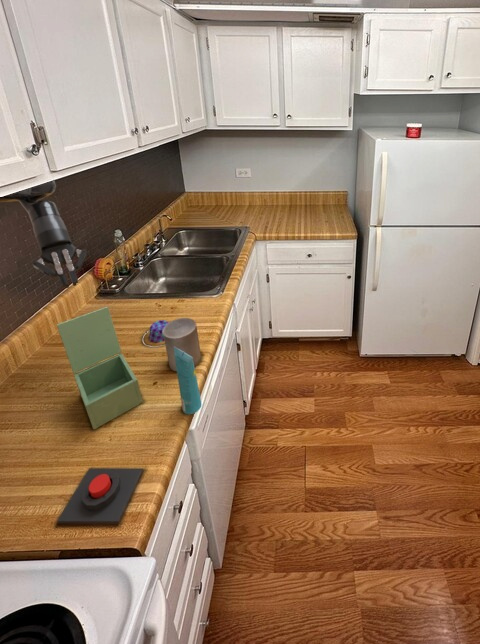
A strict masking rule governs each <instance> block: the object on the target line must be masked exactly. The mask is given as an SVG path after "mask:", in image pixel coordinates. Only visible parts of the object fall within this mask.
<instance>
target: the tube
mask: <svg viewBox="0 0 480 644" xmlns="http://www.w3.org/2000/svg"><path fill="white" fill-rule="evenodd" d="M174 354H175V362H176V369H177V371H176V375H177V381H178V382H177V383H178V387H179V396H180V402H181V408H182V412H183V414H185V415H194V414H196V413H197V412H198V411H199V410H200V409H201V408H202V398H201V394H200V389H199V384H198V378H197V373H196V367H194V363H193V357H191V356H190V355H188V354H186V353H185V352H183V351H181V350H180V349H177V348H176V347H174Z"/></svg>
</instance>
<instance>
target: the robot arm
mask: <svg viewBox="0 0 480 644" xmlns="http://www.w3.org/2000/svg"><path fill="white" fill-rule="evenodd" d="M56 190H57V182H56V181H55V180H54V181H51V182H47V183H45V184H42V185H39V186H36V187H32V188H29V189H27V190H23V191H19V192H17V193H13V194H10V195H8V196H4V197H0V203H11V202H13V203H14V202H19V203H20V204H21V206H22V207H23V208H24V210H25V211H26V213H28V216H29V219H30V222H31V225H32V230H33V234H34V237H35V239H36V242H37V244H38V248H39V250H40V258H39V259H37V260H34V261H33V262H32V266H33V268H34V269H36V270H37V271H39V272H41V273H42V274H44V275H46V276H47V277H49V278H52V279H53V278H58V280H59V282H60V284H61V287H62V288H65V289H68V288H70V285H69V283H68V279H67V277H66V274H65V273H64V271H63V268H62V266H63V265H65V266H66V268H67V270H68V274H69V278H70V281H71V283H72V286H73V287H75V286H77V284H78V283H79V279H78V275H77V272H78V271H81V270H82V268H83V265H84V262H85V260H86V258H87V249H85V248H83V249H77V247H76V246H74V244H73V242H72V239H71V237H70V234H69V231H68V228H67V226H66V224H65V222H64V220H63V219H62V216H61V214H60V211H59V208H58V206H57V204H56V203H55V202H53V201H51V200H43V199H45V198H47V197H50V196H52V195H53V194H54V193H55V192H56ZM76 254H77V258H78V259H77V261H76V263H75V265H74V264H73V260H74V258H75V257H76ZM45 263H47V264H49V265H51V266H53V267H54V268H55V270H53V269H52V268H49V267H48V266H47V265H46V264H45Z"/></svg>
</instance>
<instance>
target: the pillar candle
mask: <svg viewBox="0 0 480 644" xmlns="http://www.w3.org/2000/svg"><path fill="white" fill-rule="evenodd" d="M162 333H163V336H164V341H163V342H164V346H165V351H166V355H167V361H168V365H169V368H170V370H172V371H174V372H177V369H176V362H175V354H174V347H176V348H177V349H180V350H181V351H183V352H185V353H186V354H188V355H190V356H191V357H193V363H194V368H196V367H197V366H199V364H200V363H201V361H202V352H201V346H200V345H201V344H200V340H199V338H200V337H199V332H198V327H197V323H196V321H195V320H194V319H192V318H189V317H181V318H180V317H179V318H176V319H174V320H171V321H169V322H168V324H167V325H166V326H165V327H164V329H163V331H162Z"/></svg>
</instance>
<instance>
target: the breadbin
mask: <svg viewBox="0 0 480 644" xmlns="http://www.w3.org/2000/svg"><path fill="white" fill-rule="evenodd" d="M73 377H74V380H75V382H76V385H77V388H78V391H79V395H80V397H81V399H82V402H83V405H84V408H85V411H86V413H87V416H88V419H89V421H90V424H91V428H92V429H93V431H94V430H96V429H98V428H99V427H101V426H103V425H105V424H106V423H108V422H111V421H112V420H114V419H116V418H118V417H119V416H121V415H123V414H125V413H127V412H128V411H130V410H131V409H133V408H135V407H137V406H139V405H141V404H143V403H144V402H143V397H142V392H141V389H140V385H139V381H138V378H137V377H136V375H135V373H134V371H133V370H132V368H131V366H130V365H129V363H128V362H127V360H126V358H125V356H124V355H123V353H122V352H121V353H118V354H116V355H114V356H112V357H110V358H107V359H105V360H103V361H101V362H98V363H96V364H94V365H92V366H89V367H87V368H85V369H83V370H80V371H78V372H76V373H73Z"/></svg>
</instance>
